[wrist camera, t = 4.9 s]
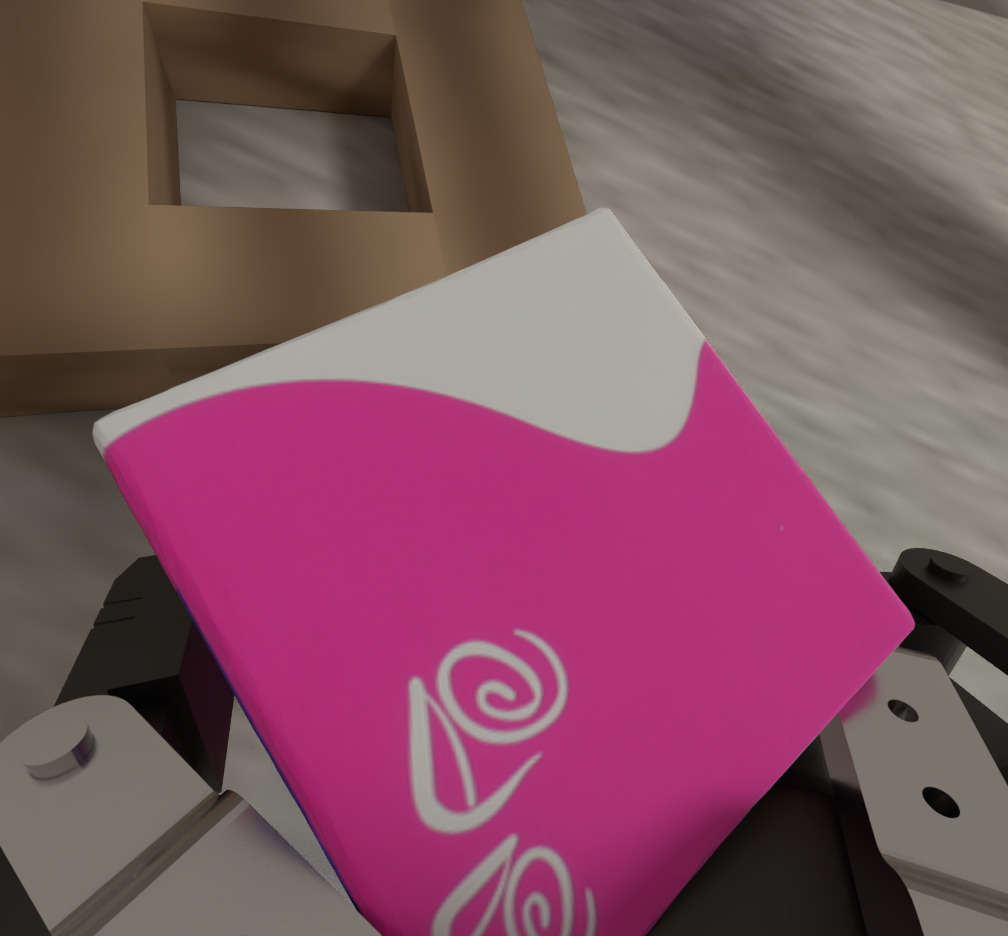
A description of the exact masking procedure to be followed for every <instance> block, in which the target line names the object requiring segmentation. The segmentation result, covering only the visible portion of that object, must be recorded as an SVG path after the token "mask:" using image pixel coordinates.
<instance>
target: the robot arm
mask: <svg viewBox="0 0 1008 936" xmlns="http://www.w3.org/2000/svg"><path fill="white" fill-rule="evenodd" d="M880 573H881V575H882V576H883V577H884V579H885V580H886V581H887V583H888V584H889V585H890V587H891V588H892V589H893V591H894V592H895V593H896V595H897V596H898V597H899V598H900V600H901V601H902V602H903V604H904V605H905V606H906V607H907V609H908V610H909V611H910V613H911V615H912V617H913V620H914V622H915V626H914V629H913V630H912V631H911V632H910V633H909V634H908V636H907V637H906V638H905V639H904V640H903V641H902V642H901V644H900V645H899V646H898V647H897V648H896V649H895V650H894V651H893V653H892V654H891V655H890V656H889V657H888V658H887V659H886V660H885V661H884V663H883V664H882V665H881V666H880V667H879V668H878V669H877V670H876V671H875V673H874V674H873V675H872V676H871V677H870V678H869V679H868V680H867V681H866V682H865V684H864V685H863V686H862V687H861V688H860V689H859V690H858V691H857V692H856V693H855V694H854V696H853V697H852V698H851V699H850V700H849V701H848V702H847V703H846V704H845V705H844V707H843V708H842V709H841V710H840V711H839V712H838V713H837V714H836V715H835V717H834V718H833V719H832V720H831V721H830V722H829V723H828V724H827V726H826V727H825V728H824V729H823V730H822V731H821V732H820V733H819V734H818V736H817V737H816V738H815V739H814V740H813V741H812V742H811V743H810V745H809V746H808V747H807V748H806V749H805V750H804V751H803V752H802V753H801V755H800V756H799V757H798V758H797V759H796V760H795V761H794V762H793V764H792V765H791V766H790V767H789V768H788V769H787V770H786V771H785V772H784V774H783V775H782V776H781V777H780V778H779V779H778V780H777V781H776V782H775V784H774V785H773V786H772V787H771V788H770V789H769V790H768V791H767V792H766V793H765V795H764V796H763V797H762V798H761V799H760V800H759V801H758V802H757V803H756V804H755V805H754V806H753V807H752V808H751V810H750V811H749V812H748V813H747V814H746V816H745V817H744V818H743V819H742V821H741V822H740V823H739V824H738V825H737V826H736V827H735V828H734V830H733V831H732V832H731V833H730V834H729V835H728V836H727V837H726V838H725V839H724V841H723V842H722V843H721V844H720V845H719V846H718V848H717V849H716V850H715V851H714V852H713V854H712V855H711V856H710V857H709V859H708V860H707V861H706V862H705V863H704V865H703V866H702V867H701V868H700V869H699V870H698V872H697V873H696V874H695V875H694V876H693V877H692V878H691V880H690V881H689V882H688V883H687V884H686V885H685V886H684V888H683V889H682V890H681V891H680V893H679V894H678V895H677V896H676V898H675V899H674V900H673V901H672V903H671V904H670V905H669V907H668V908H667V909H666V910H665V912H664V913H663V914H662V916H661V917H660V918H659V919H658V921H657V922H656V923H655V924H654V926H653V927H652V928H651V930H650V931H649V932H648V933H647V935H646V936H1008V723H1006V722H1005V721H1004V720H1002V719H1001V718H1000V717H999V716H997V715H996V714H995V713H994V712H992V711H991V710H990V709H989V708H987V707H986V706H985V705H984V704H982V703H981V702H980V701H979V700H977V699H976V698H975V697H974V696H972V695H971V694H970V693H969V692H967V691H966V690H965V689H964V688H962V687H961V686H960V685H958V684H957V683H956V682H955V681H953V680H952V679H951V678H950V677H948V676H949V674H950V673H951V671H952V669H953V668H954V666H955V665H956V663H957V661H958V660H959V658H960V656H961V655H962V653H963V652H964V650H965V648H966V647H967V646H968V647H969V648H971V649H972V650H973V651H975V652H976V653H977V654H979V655H980V656H982V657H983V658H984V659H986V660H987V661H988V662H990V663H991V664H993V665H994V666H995V667H997V668H998V669H1000V670H1001V671H1002V672H1004V673H1005V674H1006V675H1008V584H1006V583H1005V582H1003V581H1001V580H1000V579H998V578H996V577H994V576H993V575H991V574H989V573H988V572H986V571H984V570H983V569H981V568H979V567H977V566H976V565H974V564H972V563H970V562H968V561H966V560H964V559H961V558H959V557H956V556H954V555H951V554H948V553H945V552H941V551H937V550H932V549H925V548H911V549H907V550H905V551H903V552H902V553H901V554H900V556H899V559H898V561H897V563H896V565H895V567H894V569H893V571H892V572H880ZM103 604H104V608H102V609H101V610H100V612H99V614H98V616H97V618H96V620H95V622H94V629H91V630H90V632H89V635H88V637H87V639H86V641H85V643H84V645H83V647H82V649H81V651H80V653H79V655H78V657H77V660H76V662H75V664H74V666H73V668H72V670H71V672H70V674H69V676H68V678H67V680H66V682H65V684H64V687H63V689H62V691H61V693H60V695H59V697H58V699H57V701H56V703H55V705H54V707H53V708H51V709H49V710H47V711H45V712H43V713H41V714H39V715H37V716H35V717H34V718H32V719H31V720H29V721H28V722H26V723H24V724H23V725H21V726H20V727H19V728H18V729H16V730H15V731H14V732H12V733H11V734H10V735H9V736H8V737H6V738H5V739H4V740H3V741H2V742H1V743H0V936H382V935H381V934H380V933H379V932H378V931H377V930H376V929H375V928H374V927H373V926H372V925H371V924H370V923H369V922H368V921H367V920H366V919H365V918H364V917H363V916H361V915H360V914H359V913H358V912H357V911H356V910H355V909H354V908H353V907H352V906H351V905H350V904H349V903H348V902H347V901H346V900H345V899H344V898H343V897H342V896H341V895H340V894H339V893H338V892H337V891H336V890H335V889H334V888H333V887H332V886H331V885H330V884H329V883H328V882H327V881H326V880H325V879H324V878H323V877H322V876H321V875H320V874H319V873H318V872H317V871H316V870H315V869H314V868H313V867H312V866H311V865H310V864H309V863H308V862H307V861H306V860H305V859H304V858H303V857H302V856H301V855H300V854H299V853H298V852H297V851H296V850H295V849H294V848H293V847H292V846H291V845H290V844H289V843H288V842H287V841H286V840H285V839H284V838H283V837H282V836H281V835H280V834H279V833H278V832H277V831H276V830H275V829H274V828H273V827H272V826H271V825H270V824H269V823H268V822H267V821H266V820H265V819H264V818H263V817H262V816H261V815H260V814H259V813H258V812H257V811H256V810H255V809H254V808H253V807H252V806H251V805H250V804H249V803H248V802H247V801H246V800H245V799H243V798H242V797H241V796H240V795H238V794H237V793H235V792H234V791H231V790H226V791H225V792H224V793H223V794H222V795H219V794H217V793H220V792H221V791H222V784H223V776H224V769H225V761H226V754H227V746H228V739H229V731H230V724H231V716H232V709H233V701H234V693H233V691H232V690H231V688H230V686H229V684H228V682H227V681H226V679H225V677H224V675H223V673H222V672H221V670H220V668H219V666H218V664H217V663H216V661H215V659H214V657H213V655H212V654H211V652H210V650H209V648H208V646H207V645H206V643H205V641H204V639H203V637H202V636H201V634H200V632H199V630H198V629H197V627H196V625H195V623H194V621H193V620H192V618H191V616H190V614H189V613H188V611H187V609H186V608H185V606H184V604H183V602H182V601H181V599H180V597H179V595H178V594H177V592H176V590H175V589H174V587H173V585H172V583H171V581H170V580H169V578H168V576H167V574H166V572H165V570H164V568H163V567H162V565H161V563H160V561H159V559H158V557H157V556H156V555H155V556H148V557H142V558H138V559H137V560H136V561H135V562H134V563H133V564H132V565H131V566H130V567H129V568H127V569H126V570H125V571H124V572H123V573H122V574H121V575H120V576H119V577H118V578H116V579H115V580H114V583H113V585H112V587H111V589H110V591H109V593H108V595H107V597H106V599H105V601H104V603H103Z"/></svg>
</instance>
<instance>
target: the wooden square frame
mask: <svg viewBox="0 0 1008 936" xmlns="http://www.w3.org/2000/svg"><path fill="white" fill-rule="evenodd" d="M175 99H184V100H196V101H208V102H220V103H232V104H243V105H255V106H267V107H279V108H291V109H303V110H315V111H327V112H339V113H351V114H363V115H375V116H386V117H391V119H392V124H393V129H394V134H395V139H396V145H397V150H398V155H399V160H400V165H401V170H402V175H403V180H404V186H405V191H406V196H407V201H408V206H409V211H410V212H382V211H347V210H312V209H277V208H242V207H207V206H181V198H180V179H179V160H178V140H177V121H176V102H175ZM584 215H586V210H585V207H584V204H583V200H582V197H581V194H580V191H579V187H578V184H577V181H576V178H575V174H574V171H573V168H572V165H571V161H570V158H569V155H568V151H567V148H566V145H565V142H564V138H563V135H562V132H561V129H560V125H559V122H558V119H557V115H556V112H555V109H554V106H553V102H552V99H551V96H550V93H549V89H548V86H547V83H546V80H545V76H544V73H543V70H542V66H541V63H540V60H539V57H538V53H537V50H536V47H535V44H534V40H533V37H532V34H531V30H530V27H529V24H528V21H527V17H526V14H525V11H524V8H523V4H522V1H521V0H0V417H4V416H18V415H31V414H45V413H58V412H72V411H85V410H99V409H112V408H124V407H127V406H129V405H132V404H135V403H137V402H140V401H142V400H145V399H147V398H150V397H153V396H155V395H158V394H160V393H163V392H165V391H167V390H168V389H170V388H172V387H175V386H178V385H180V384H183V383H185V382H188V381H190V380H193V379H195V378H198V377H201V376H203V375H206V374H208V373H211V372H213V371H216V370H218V369H221V368H223V367H225V366H228V365H230V364H233V363H235V362H237V361H240V360H242V359H245V358H247V357H250V356H252V355H254V354H257V353H259V352H262V351H264V350H267V349H269V348H272V347H274V346H277V345H279V344H282V343H284V342H286V341H289V340H291V339H294V338H296V337H299V336H301V335H304V334H306V333H309V332H311V331H314V330H316V329H319V328H321V327H324V326H326V325H328V324H331V323H333V322H336V321H338V320H341V319H343V318H346V317H348V316H350V315H353V314H355V313H358V312H360V311H363V310H365V309H368V308H371V307H373V306H376V305H378V304H381V303H383V302H386V301H388V300H391V299H393V298H395V297H398V296H400V295H403V294H405V293H407V292H410V291H412V290H415V289H417V288H419V287H422V286H424V285H427V284H429V283H431V282H434V281H436V280H438V279H441V278H443V277H446V276H448V275H450V274H453V273H455V272H458V271H460V270H462V269H464V268H467V267H469V266H471V265H474V264H476V263H478V262H480V261H483V260H485V259H487V258H490V257H492V256H494V255H496V254H499V253H501V252H503V251H506V250H508V249H510V248H512V247H515V246H517V245H519V244H521V243H524V242H526V241H528V240H530V239H533V238H535V237H537V236H540V235H542V234H544V233H546V232H549V231H551V230H553V229H555V228H557V227H560V226H562V225H564V224H566V223H569V222H571V221H573V220H575V219H578V218H580V217H582V216H584Z"/></svg>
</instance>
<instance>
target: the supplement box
mask: <svg viewBox="0 0 1008 936" xmlns="http://www.w3.org/2000/svg"><path fill="white" fill-rule="evenodd" d="M92 434H93V438H94V442H95V445H96V447H97V448H98V450H99V452H100V454H101V455H102V457H103V459H104V461H105V463H106V464H107V466H108V468H109V470H110V472H111V474H112V476H113V478H114V479H115V481H116V483H117V485H118V487H119V489H120V491H121V493H122V495H123V497H124V499H125V501H126V503H127V505H128V507H129V508H130V510H131V512H132V513H133V515H134V517H135V519H136V520H137V522H138V524H139V525H140V527H141V529H142V531H143V532H144V534H145V536H146V538H147V539H148V541H149V543H150V545H151V547H152V548H153V550H154V552H155V554H156V556H157V557H158V559H159V561H160V563H161V565H162V567H163V568H164V570H165V572H166V574H167V576H168V578H169V580H170V581H171V583H172V585H173V587H174V589H175V590H176V592H177V594H178V595H179V597H180V599H181V601H182V602H183V604H184V606H185V608H186V609H187V611H188V613H189V614H190V616H191V618H192V620H193V621H194V623H195V625H196V627H197V629H198V630H199V632H200V634H201V636H202V637H203V639H204V641H205V643H206V645H207V646H208V648H209V650H210V652H211V654H212V655H213V657H214V659H215V661H216V663H217V664H218V666H219V668H220V670H221V672H222V673H223V675H224V677H225V679H226V681H227V682H228V684H229V686H230V688H231V690H232V691H233V693H234V695H235V697H236V699H237V700H238V702H239V704H240V706H241V708H242V709H243V711H244V713H245V715H246V717H247V718H248V720H249V722H250V724H251V726H252V727H253V729H254V731H255V732H256V734H257V736H258V737H259V739H260V741H261V742H262V744H263V746H264V748H265V749H266V751H267V753H268V754H269V756H270V758H271V759H272V761H273V763H274V765H275V767H276V769H277V771H278V772H279V774H280V776H281V778H282V780H283V781H284V783H285V785H286V786H287V788H288V790H289V791H290V793H291V795H292V796H293V798H294V800H295V802H296V803H297V805H298V807H299V808H300V810H301V812H302V813H303V815H304V817H305V819H306V820H307V822H308V824H309V826H310V828H311V829H312V831H313V833H314V835H315V837H316V839H317V840H318V842H319V844H320V846H321V848H322V850H323V851H324V853H325V855H326V857H327V859H328V861H329V862H330V864H331V866H332V868H333V869H334V871H335V873H336V875H337V876H338V878H339V880H340V882H341V883H342V885H343V887H344V889H345V890H346V892H347V894H348V896H349V898H350V899H351V901H352V903H353V905H354V906H355V908H356V910H357V912H358V913H359V914H360V915H361V916H363V917H364V918H365V919H366V920H367V921H368V922H369V923H370V924H371V925H372V926H373V927H374V928H375V929H376V930H377V931H378V932H379V933H380V934H381V935H382V936H646V935H647V933H648V932H649V931H650V930H651V928H652V927H653V926H654V924H655V923H656V922H657V921H658V919H659V918H660V917H661V916H662V914H663V913H664V912H665V910H666V909H667V908H668V907H669V905H670V904H671V903H672V901H673V900H674V899H675V898H676V896H677V895H678V894H679V893H680V891H681V890H682V889H683V888H684V886H685V885H686V884H687V883H688V882H689V881H690V880H691V878H692V877H693V876H694V875H695V874H696V873H697V872H698V870H699V869H700V868H701V867H702V866H703V865H704V863H705V862H706V861H707V860H708V859H709V857H710V856H711V855H712V854H713V852H714V851H715V850H716V849H717V848H718V846H719V845H720V844H721V843H722V842H723V841H724V839H725V838H726V837H727V836H728V835H729V834H730V833H731V832H732V831H733V830H734V828H735V827H736V826H737V825H738V824H739V823H740V822H741V821H742V819H743V818H744V817H745V816H746V814H747V813H748V812H749V811H750V810H751V808H752V807H753V806H754V805H755V804H756V803H757V802H758V801H759V800H760V799H761V798H762V797H763V796H764V795H765V793H766V792H767V791H768V790H769V789H770V788H771V787H772V786H773V785H774V784H775V782H776V781H777V780H778V779H779V778H780V777H781V776H782V775H783V774H784V772H785V771H786V770H787V769H788V768H789V767H790V766H791V765H792V764H793V762H794V761H795V760H796V759H797V758H798V757H799V756H800V755H801V753H802V752H803V751H804V750H805V749H806V748H807V747H808V746H809V745H810V743H811V742H812V741H813V740H814V739H815V738H816V737H817V736H818V734H819V733H820V732H821V731H822V730H823V729H824V728H825V727H826V726H827V724H828V723H829V722H830V721H831V720H832V719H833V718H834V717H835V715H836V714H837V713H838V712H839V711H840V710H841V709H842V708H843V707H844V705H845V704H846V703H847V702H848V701H849V700H850V699H851V698H852V697H853V696H854V694H855V693H856V692H857V691H858V690H859V689H860V688H861V687H862V686H863V685H864V684H865V682H866V681H867V680H868V679H869V678H870V677H871V676H872V675H873V674H874V673H875V671H876V670H877V669H878V668H879V667H880V666H881V665H882V664H883V663H884V661H885V660H886V659H887V658H888V657H889V656H890V655H891V654H892V653H893V651H894V650H895V649H896V648H897V647H898V646H899V645H900V644H901V642H902V641H903V640H904V639H905V638H906V637H907V636H908V634H909V633H910V632H911V631H912V630H913V629H914V626H915V622H914V620H913V617H912V615H911V613H910V611H909V610H908V609H907V607H906V606H905V605H904V604H903V602H902V601H901V600H900V598H899V597H898V596H897V595H896V593H895V592H894V591H893V589H892V588H891V587H890V585H889V584H888V583H887V581H886V580H885V579H884V577H883V576H882V575H881V573H880V572H879V571H878V569H877V568H876V567H875V565H874V564H873V563H872V561H871V560H870V559H869V557H868V556H867V555H866V553H865V552H864V551H863V549H862V548H861V547H860V546H859V544H858V543H857V542H856V540H855V539H854V538H853V536H852V535H851V534H850V532H849V531H848V530H847V528H846V527H845V526H844V524H843V523H842V522H841V520H840V519H839V518H838V516H837V515H836V514H835V512H834V511H833V510H832V508H831V507H830V506H829V504H828V503H827V501H826V500H825V499H824V497H823V496H822V495H821V493H820V492H819V491H818V489H817V488H816V486H815V485H814V484H813V482H812V481H811V480H810V478H809V477H808V475H807V474H806V473H805V471H804V470H803V469H802V467H801V466H800V465H799V463H798V462H797V460H796V459H795V458H794V456H793V455H792V454H791V452H790V451H789V450H788V448H787V447H786V445H785V444H784V443H783V441H782V440H781V439H780V437H779V436H778V435H777V433H776V432H775V431H774V429H773V428H772V427H771V425H770V424H769V423H768V421H767V420H766V419H765V417H764V416H763V415H762V413H761V412H760V411H759V409H758V408H757V407H756V405H755V404H754V403H753V401H752V400H751V399H750V397H749V396H748V395H747V393H746V392H745V391H744V389H743V388H742V387H741V385H740V384H739V383H738V381H737V380H736V379H735V377H734V376H733V375H732V373H731V372H730V371H729V369H728V368H727V367H726V365H725V364H724V363H723V361H722V360H721V358H720V357H719V356H718V354H717V353H716V351H715V350H714V349H713V347H712V346H711V345H710V343H709V342H708V341H707V339H706V338H705V337H704V335H703V334H702V333H701V331H700V330H699V329H698V327H697V326H696V325H695V323H694V322H693V321H692V319H691V318H690V316H689V315H688V314H687V312H686V311H685V310H684V308H683V307H682V306H681V304H680V303H679V302H678V300H677V299H676V297H675V296H674V295H673V294H672V292H671V291H670V290H669V288H668V287H667V286H666V284H665V283H664V282H663V280H662V279H661V278H660V277H659V275H658V274H657V273H656V271H655V270H654V269H653V267H652V266H651V265H650V263H649V262H648V261H647V259H646V258H645V256H644V255H643V254H642V252H641V251H640V250H639V248H638V247H637V246H636V244H635V243H634V242H633V240H632V239H631V237H630V236H629V235H628V233H627V232H626V231H625V229H624V228H623V227H622V225H621V224H620V222H619V221H618V220H617V218H616V217H615V216H614V214H613V213H612V212H611V210H610V209H609V208H606V207H603V208H598V209H596V210H594V211H593V212H591V213H588V214H586V215H584V216H582V217H580V218H578V219H575V220H573V221H571V222H569V223H566V224H564V225H562V226H560V227H557V228H555V229H553V230H551V231H549V232H546V233H544V234H542V235H540V236H537V237H535V238H533V239H530V240H528V241H526V242H524V243H521V244H519V245H517V246H515V247H512V248H510V249H508V250H506V251H503V252H501V253H499V254H496V255H494V256H492V257H490V258H487V259H485V260H483V261H480V262H478V263H476V264H474V265H471V266H469V267H467V268H464V269H462V270H460V271H458V272H455V273H453V274H450V275H448V276H446V277H443V278H441V279H438V280H436V281H434V282H431V283H429V284H427V285H424V286H422V287H419V288H417V289H415V290H412V291H410V292H407V293H405V294H403V295H400V296H398V297H395V298H393V299H391V300H388V301H386V302H383V303H381V304H378V305H376V306H373V307H371V308H368V309H365V310H363V311H360V312H358V313H355V314H353V315H350V316H348V317H346V318H343V319H341V320H338V321H336V322H333V323H331V324H328V325H326V326H324V327H321V328H319V329H316V330H314V331H311V332H309V333H306V334H304V335H301V336H299V337H296V338H294V339H291V340H289V341H286V342H284V343H282V344H279V345H277V346H274V347H272V348H269V349H267V350H264V351H262V352H259V353H257V354H254V355H252V356H250V357H247V358H245V359H242V360H240V361H237V362H235V363H233V364H230V365H228V366H225V367H223V368H221V369H218V370H216V371H213V372H211V373H208V374H206V375H203V376H201V377H198V378H195V379H193V380H190V381H188V382H185V383H183V384H180V385H178V386H175V387H172V388H170V389H168V390H167V391H165V392H163V393H160V394H158V395H155V396H153V397H150V398H147V399H145V400H142V401H140V402H137V403H135V404H132V405H129V406H127V407H124V408H122V409H119V410H116V411H114V412H112V413H110V414H108V415H106V416H104V417H102V418H100V419H99V420H97V421H96V422H94V427H93V432H92Z"/></svg>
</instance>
